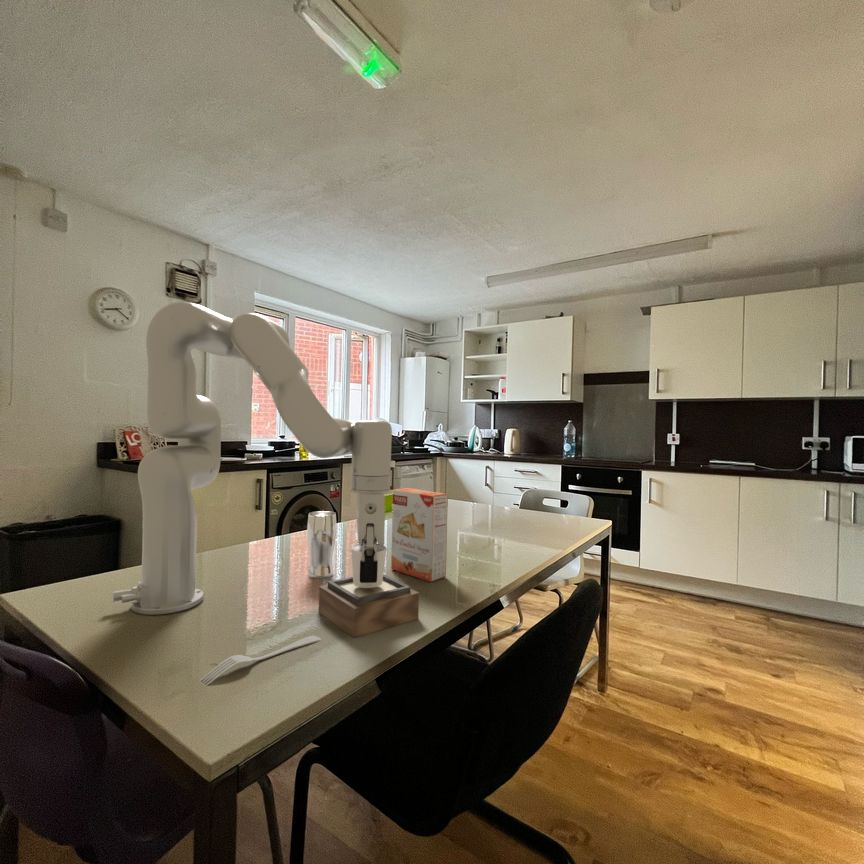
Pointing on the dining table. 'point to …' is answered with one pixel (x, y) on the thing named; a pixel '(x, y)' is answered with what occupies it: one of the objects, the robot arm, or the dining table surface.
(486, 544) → the dining table surface
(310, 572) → the beer glass
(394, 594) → the display plinth
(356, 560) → the white cylinder
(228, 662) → the fork
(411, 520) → the cracker box
